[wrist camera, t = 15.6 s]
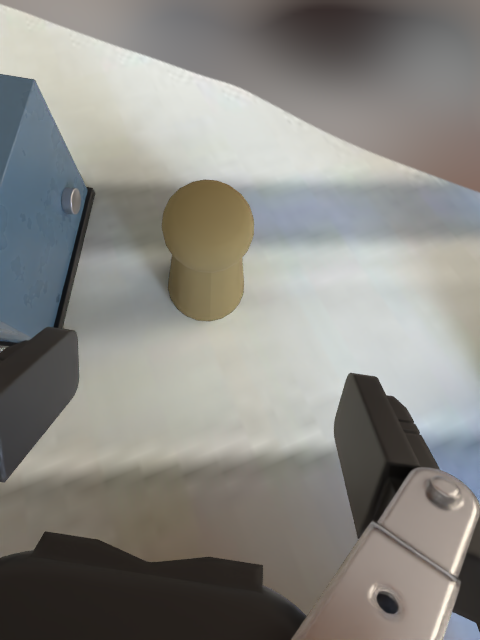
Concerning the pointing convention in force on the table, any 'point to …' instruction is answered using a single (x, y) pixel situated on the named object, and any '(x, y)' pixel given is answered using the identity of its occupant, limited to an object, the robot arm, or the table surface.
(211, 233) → the cork
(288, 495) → the table surface
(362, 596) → the robot arm
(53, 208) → the toaster
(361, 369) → the table surface
